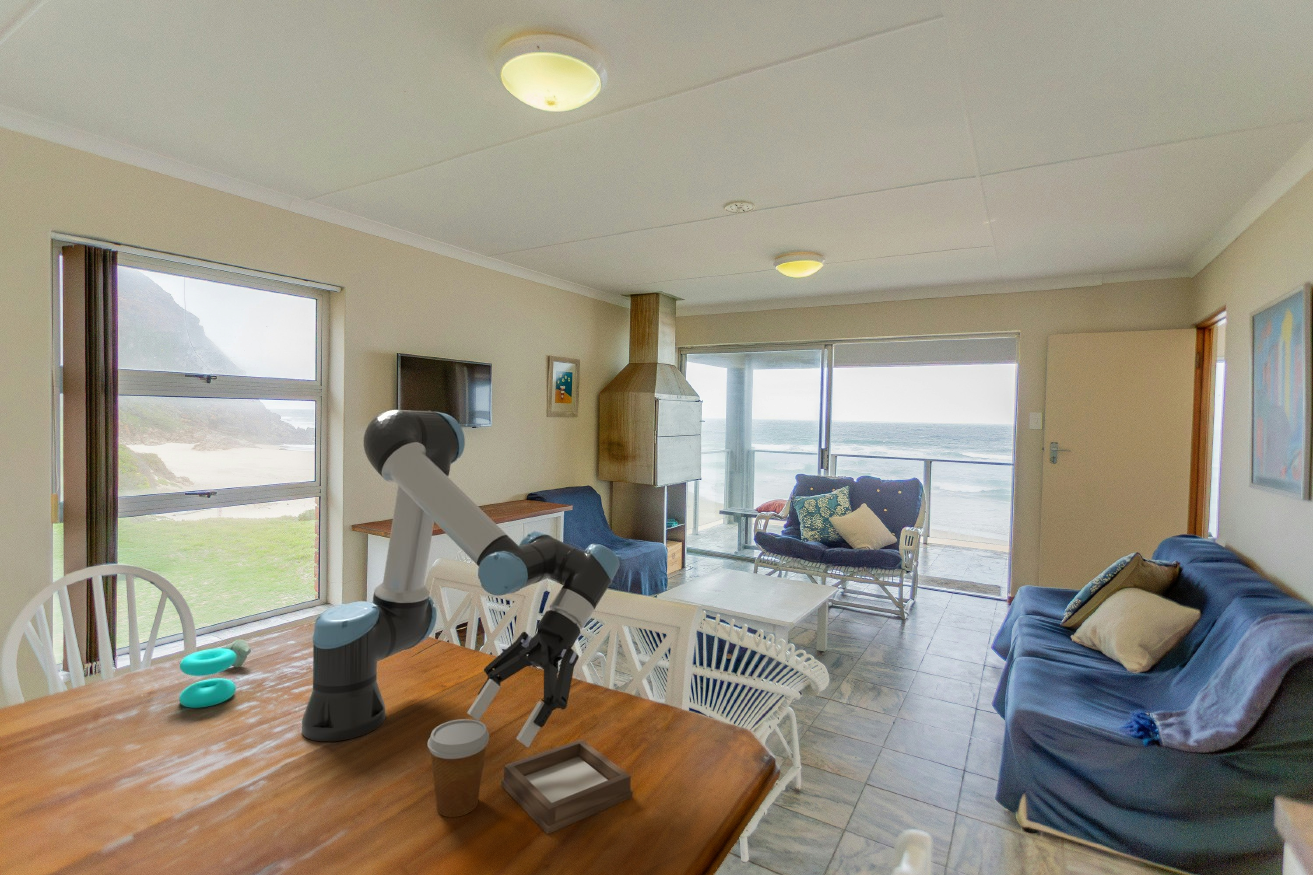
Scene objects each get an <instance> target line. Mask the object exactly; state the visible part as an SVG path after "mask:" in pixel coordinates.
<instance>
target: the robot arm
mask: <svg viewBox="0 0 1313 875" xmlns="http://www.w3.org/2000/svg"><path fill="white" fill-rule="evenodd" d="M465 441H466V439H465V434H464V431H463V427H461V426H460V424H459V422H458V420H456V419H455V418H454V417H453V416H451V415H450V414H447V413H444V412H439V411H434V410H432V411H431V410H408V409H407V410H404V409H391V410H387V411H384V412H382V413H379V414H377V416H375V417H374V418H373V419H372V420H371V421H370V422H369V424H368V425H367V427H366V429H365V431H364V435H363V449H364V454H365V456H366V457H367V460H368V461H369V463H370V464H371V466H372V467H373V469H374V470H375V471H376V472H377V473H378V474H379V475H380V476H381V477H382V478H383V480H385V481H386V482H390V483H394V482H395V483H396V484H397V490H396V498H395V504H394V510H393V517H392V522H391V528H390V529H391V530H390V537H389V540H388V541H389V542H388V548H387V555H386V561H385V568H384V573H383V580H382V583H380V584H379V585H378V586H376V587H375V588H374V590H373V595H372V601H366V600H363V601H362V600H361V601H360V600H359V601H357V600H356V601H351V602H350V603H341V604H337V605H335V606H332V607H329V608H328V609H326V610H324V611H323V612H321V613H320V614H319V616H317V618H316V620H315V622H314V629H313V630H314V631H313V635H312V644H313V646H312V647H313V648H312V649H313V650H312V651H313V654H312V656H313V657H312V660H313V661H312V662H313V663H312V664H313V665H312V668H313V669H312V692H311V694H310V697H309V700H308V702H307V704H306V705H307V706H306V708H305V711H304V713H303V716H302V721H301V733H302V734H301V735H303V736H304V737H305V738H306V739H308V740H311V741H317V742H324V743H325V742H329V743H330V742H340V741H345V740H351V739H355V738H358V737H361V736H363V735H366V734H369V733H370V732H372V731H375V730H376V729H377V728H379V727H380V726H382V724H383V723H384V721H385V719H386V705H385V701H384V698H383V696H382V693H381V690H380V687H379V684H378V681H377V680H378V678H377V674H378V672H377V671H378V670H377V669H378V662H380V661H382V660H385V659H387V658H388V657H391V656H394V655H396V654H398V653H400V652H402V651H403V652H404V651H405V650H409V649H412V648H415V646H417V645H419V644H420V643H422V642H424V641H425V640H427V639H428V638H429V637H430V635H431V634H432V633H433V630H434V629H435V626H436V623H437V608H436V607H435V606H434V604H435V603H434V601H433V599H432V597H430V595H431V592H430V590H429V589H428V588H427V586H426V585H425V580H426V574H427V568H428V563H429V556H430V550H431V544H432V537H433V533H434V532H433V530H434V525H435V524H436V525H437V526H438V527H439V528H440V529H441V530H442V532H444V533H445V534H446V535H447V536H448V537H449V538H450V539H451V540H452V541H453V542H454V543H455V544H456V545H457V546H458V547H459V548H460V549H461V550H462V551H463V552H464V553H465V555H467V556H468V558H470V559H471V560H472V561H473V562H474V564H476V566H478V569H477V570H478V571H477V577H478V580H479V583H480V586H481V587H482V590H484V591H485V592H486V593H488V594H490V595H492V596H499V597H500V596H505V595H509V594H514V593H517V592H519V591H520V590H522V589H524V588H526V587H528V586H530V585H534V584H537V583H540V582H542V581H544V580H547V579H549V580H551V581H553V582H556V583H557V584H559V585H561V588H560V590H559V592H557V594H556V596H555V597H554V599H553V600H552V601H551V603H550V605H549V606H548V607H549V610H546V612H545V613H544V614H543V615H542V617H541V619H540V620H539V621H538V623H537V627H536V628H537V631H536V634H535V635H534V636H533V637H532V636H530V635H529V634H528V633H527V632H526V631H522V633H521V634H519V636H518V637H517V639H516V640H515V641H514V642H513V643H511V644H510V645H509V646H508V647H507V648H506V649H505V650H504V651H502V652H501V653H500V654H499V655H497V656H496V657H495V658H494V659H493V660H491V661H490V663H488V664H487V665H486V666H485V667H484V669H483V671H484V673H485V674H486V676H487V678H486V681H485V682H484V683H483V684H482V686H481V688H480V689H479V691H478V693H477V697H476V698H475V700H474V701H473V703H472V704H471V706H470V707H469V709H468V711H467V712H466V714H468V715H469V716H471V718H473V720H477V721H480V720H481V718H483V716H484V714H485V712H486V711H487V709H488V707H489V706H490V704H491V703H492V702H493V701H494V699H495V697H496V695H497V694H498V692H499V690H500V689H501V685H502V684H501V683H502V682H504V681H505V680H507V679H509V678H510V677H512V676H513V675H515V674H516V673H518V672H520V671H521V670H523V669H525V668H526V667H532V666H534V667H537V668H541V669H542V670H543V697H542V698H541V700H538V701H537V703H536V705H535V706H534V707H533V709H532V711H531V713H530V715H529V716H528V718H527V720H526V721H525V723H524V725H523V727H521V730H520V732H519V733H518V735H517V736H516V738H515V739H516V740H517V741H519V743H521V744H522V745H523V746H524V747H526V748H529V747H530V745H531V744H532V742H533V741H534V739H535V737H536V735H537V733H538V732H539V731H540V729H542V728H544V726H545V725H546V723H547V721H548V720H549V718H550V716H551V715H552V713H553V711H554V710H556V709H560V710H562V711H563V710H565V709H566V708H567V706H568V701H569V697H570V692H571V687H572V681H573V675H574V669H575V666H576V664H577V663H578V660H579V657H580V656H579V654H578V653H576V651H575V650H574V649H573V647H574V645H575V643H576V641H577V640H578V638H579V637H580V635H581V629H584V628H585V626H586V624H587V623H588V621H589V619H590V617H591V616H592V615H593V613H594V612H595V610H596V607H597V606H598V605H599V603H600V601H601V600H602V598H603V596H604V594H606V592H607V590H608V588H609V587H610V585H611V584H612V583H613V580H614V578H615V576H616V574H617V572H618V570H619V568H620V564H621V563H620V559H619V558H618V556H617V554H616V553H615V552H614V551H613V550H612V549H610V548H609V547H607V546H604V545H602V544H600V543H591V544H589V545H588V546H587V548H585V550H582V549H579V548H576V547H574V546H572V545H569V544H567V543H566V542H563V541H561V540H559V539H557V538H554V537H553V536H552V535H549V534H547V533H546V534H545V533H543V532H540V531H535V530H534V531H530V532H529V533H528V534H527V535H526V536H524V537H523V538H522V540H521V541H520V543H519V544H517V542H516V541H514V540H513V539H512V538H511V537H510V536H509V535H508V534H507V533H506V532H505V531H504V530H503V529H502V528H501V527H500V526H499V525H498V524H496V522H495V521H494V520H493V519H491V517H489V515H488V514H486V513H485V512H484V511H483V510H482V508H480V507H479V506H478V505H477V503H475V502H474V501H473V500H472V499H471V498H470V497H469V496H468V495H467V494H466V492H464V491H463V490H462V489H461V488H460V487H459V486H458V485H457V484H456V483H455V482H454V481H453V480H452V479H451V478H450V477H449V476H450V471H451V465H452V464H453V463H455V462H456V461H458V459H459V458H460V457H461V456H462V455H463V453H464V450H465V445H466V442H465ZM559 662H560V664H559ZM559 665H560V666H559Z"/></svg>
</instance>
